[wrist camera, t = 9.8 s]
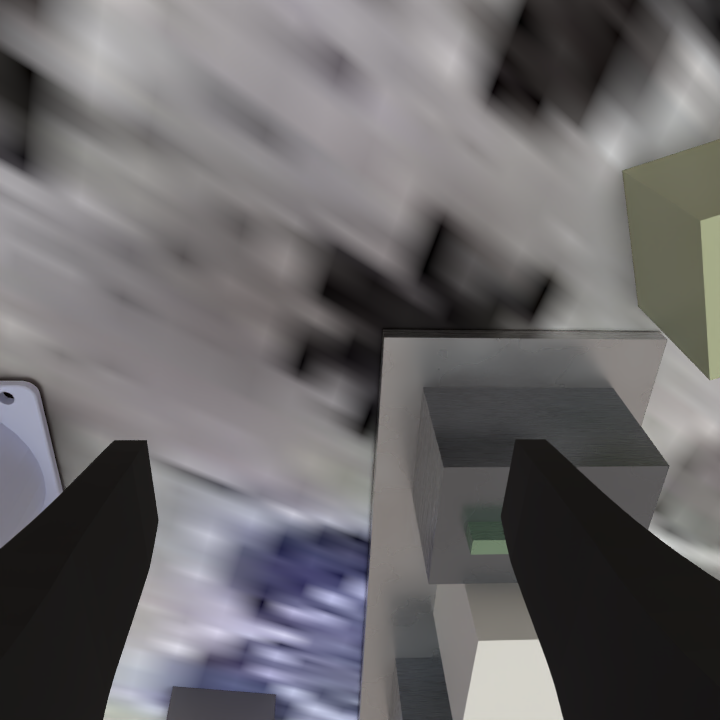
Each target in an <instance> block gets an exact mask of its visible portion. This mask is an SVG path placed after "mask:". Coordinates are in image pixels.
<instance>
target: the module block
mask: <svg viewBox="0 0 720 720" xmlns="http://www.w3.org/2000/svg"><path fill="white" fill-rule="evenodd" d="M433 616H434V621H435V627H436V632H437V637H438V643H439V648H440V654H441V659H442V665H443V670H444V675H445V681H446V686H447V692H448V697H449V703H450V708H451V714H452V719H453V720H563V716H562V712H561V709H560V705H559V701H558V697H557V693H556V689H555V686H554V683H553V679H552V676H551V673H550V670H549V667H548V664H547V661H546V658H545V656H544V653H543V650H542V648H541V645H540V642H539V639H538V637H537V634H536V631H535V629H534V626H533V623H532V620H531V618H530V615H529V612H528V610H527V607H526V604H525V601H524V599H523V596H522V593H521V590H520V588H519V585H518V583H482V584H437V589H436V597H435V604H434V611H433Z"/></svg>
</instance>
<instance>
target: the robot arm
mask: <svg viewBox="0 0 720 720" xmlns="http://www.w3.org/2000/svg"><path fill="white" fill-rule="evenodd" d="M3 392H8V393H10V394H12V395H13V397H14V398H13V399H12V398H8V397H7V396H5V395H4V393H3ZM501 521H502V526H503V531H504V536H505V541H506V545H507V549H508V553H509V558H510V562H511V565H512V568H513V571H514V574H515V577H516V579H517V582H518V585H519V588H520V590H521V593H522V596H523V599H524V601H525V604H526V607H527V610H528V612H529V615H530V618H531V620H532V623H533V626H534V629H535V631H536V634H537V637H538V639H539V642H540V645H541V648H542V650H543V653H544V656H545V658H546V661H547V664H548V667H549V670H550V673H551V676H552V679H553V683H554V686H555V689H556V693H557V697H558V701H559V705H560V709H561V712H562V716H563V720H720V581H719V580H717V579H716V578H714V577H713V576H711V575H709V574H708V573H706V572H705V571H704V570H702V569H701V568H699V567H698V566H696V565H695V564H693V563H692V562H690V561H689V560H688V559H686V558H685V557H683V556H682V555H680V554H679V553H677V552H676V551H675V550H673V549H672V548H671V547H669V546H668V545H666V544H665V543H664V542H662V541H661V540H660V539H659V538H657V537H656V536H655V535H654V534H652V533H651V532H650V531H648V530H647V529H646V528H645V527H643V526H642V525H641V524H640V523H638V522H637V521H636V520H635V519H633V518H632V517H631V516H630V515H629V514H628V513H626V512H625V511H624V510H623V509H622V508H620V507H619V506H618V505H617V504H616V503H615V502H613V501H612V500H611V499H610V498H609V497H608V496H607V495H606V494H604V493H603V492H602V491H601V490H600V489H599V488H598V487H597V486H596V485H594V484H593V483H592V482H591V481H590V480H589V479H588V478H587V477H586V476H585V475H584V474H583V473H582V472H580V471H579V470H578V469H577V468H576V467H575V466H574V465H573V464H572V463H571V462H570V461H569V460H568V459H567V458H566V457H564V456H563V455H562V454H561V453H560V452H559V451H558V450H557V449H556V448H555V447H554V446H553V445H551V444H550V443H549V442H548V441H547V440H546V439H515V444H514V449H513V454H512V460H511V465H510V470H509V475H508V481H507V486H506V491H505V496H504V501H503V507H502V512H501ZM157 526H158V514H157V507H156V500H155V493H154V487H153V480H152V473H151V466H150V460H149V453H148V446H147V440H114V441H113V442H112V443H111V444H110V445H109V446H108V447H107V448H106V449H105V450H104V451H103V452H102V453H101V454H100V455H99V456H98V457H97V458H96V459H95V460H94V461H93V462H92V463H91V464H90V465H89V466H88V467H87V468H86V469H85V470H84V471H83V472H82V473H81V474H80V475H79V476H78V477H77V478H76V479H75V480H74V481H73V482H72V483H71V484H70V485H69V486H68V487H67V488H66V489H65V490H64V491H63V489H62V485H61V481H60V477H59V472H58V468H57V464H56V460H55V455H54V451H53V447H52V443H51V438H50V434H49V430H48V426H47V421H46V417H45V413H44V409H43V404H42V400H41V396H40V392H39V390H38V388H37V387H36V386H35V385H34V384H32V383H30V382H26V381H0V720H103V718H104V713H105V709H106V704H107V700H108V696H109V693H110V689H111V686H112V682H113V679H114V675H115V672H116V669H117V666H118V663H119V660H120V657H121V654H122V651H123V648H124V645H125V642H126V639H127V636H128V633H129V630H130V627H131V624H132V621H133V618H134V615H135V612H136V609H137V606H138V603H139V599H140V596H141V593H142V590H143V587H144V584H145V581H146V578H147V575H148V571H149V568H150V563H151V558H152V553H153V548H154V543H155V537H156V532H157Z"/></svg>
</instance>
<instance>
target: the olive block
mask: <svg viewBox="0 0 720 720" xmlns="http://www.w3.org/2000/svg"><path fill="white" fill-rule="evenodd" d="M622 172H623V181H624V189H625V198H626V206H627V215H628V223H629V232H630V240H631V249H632V257H633V266H634V274H635V283H636V291H637V299H638V307H639V308H640V309H641V310H642V311H643V312H644V313H645V314H646V315H647V316H648V317H649V318H650V319H651V320H652V321H653V322H654V323H655V324H656V325H657V326H658V327H659V328H660V329H661V330H662V331H663V332H664V333H665V335H666V336H667V337H668V338H669V339H670V340H671V341H672V342H673V343H674V344H675V345H676V346H677V347H678V348H679V349H680V350H681V351H682V352H683V353H684V354H685V355H686V356H687V357H688V358H689V359H690V360H691V361H692V362H693V363H694V364H695V365H696V366H697V367H698V369H699V370H700V371H701V372H702V373H703V374H704V375H705V376H706V377H707V378H708V379H709V380H713V379H716V378H720V139H719V140H716V141H712V142H709V143H706V144H703V145H700V146H697V147H694V148H691V149H688V150H685V151H682V152H679V153H675V154H672V155H669V156H666V157H663V158H660V159H657V160H654V161H651V162H648V163H645V164H642V165H638V166H635V167H632V168H629V169H626V170H623V171H622Z"/></svg>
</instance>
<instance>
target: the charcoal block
mask: <svg viewBox="0 0 720 720" xmlns="http://www.w3.org/2000/svg"><path fill="white" fill-rule="evenodd" d="M275 696H276V695H275V694H262V693H250V692H237V691H224V690H212V689H199V688H186V687H174V686H173V689H172V694H171V700H170V705H169V710H168V715H167V720H274V715H275Z"/></svg>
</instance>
